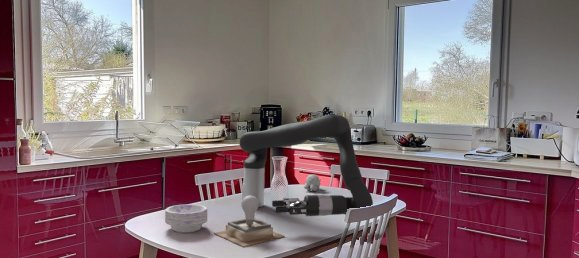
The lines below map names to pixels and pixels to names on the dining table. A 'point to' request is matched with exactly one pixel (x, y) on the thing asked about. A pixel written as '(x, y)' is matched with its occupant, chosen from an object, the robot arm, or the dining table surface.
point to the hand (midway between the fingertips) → (274, 206)
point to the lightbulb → (250, 208)
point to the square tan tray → (248, 232)
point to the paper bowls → (186, 217)
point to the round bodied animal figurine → (312, 182)
